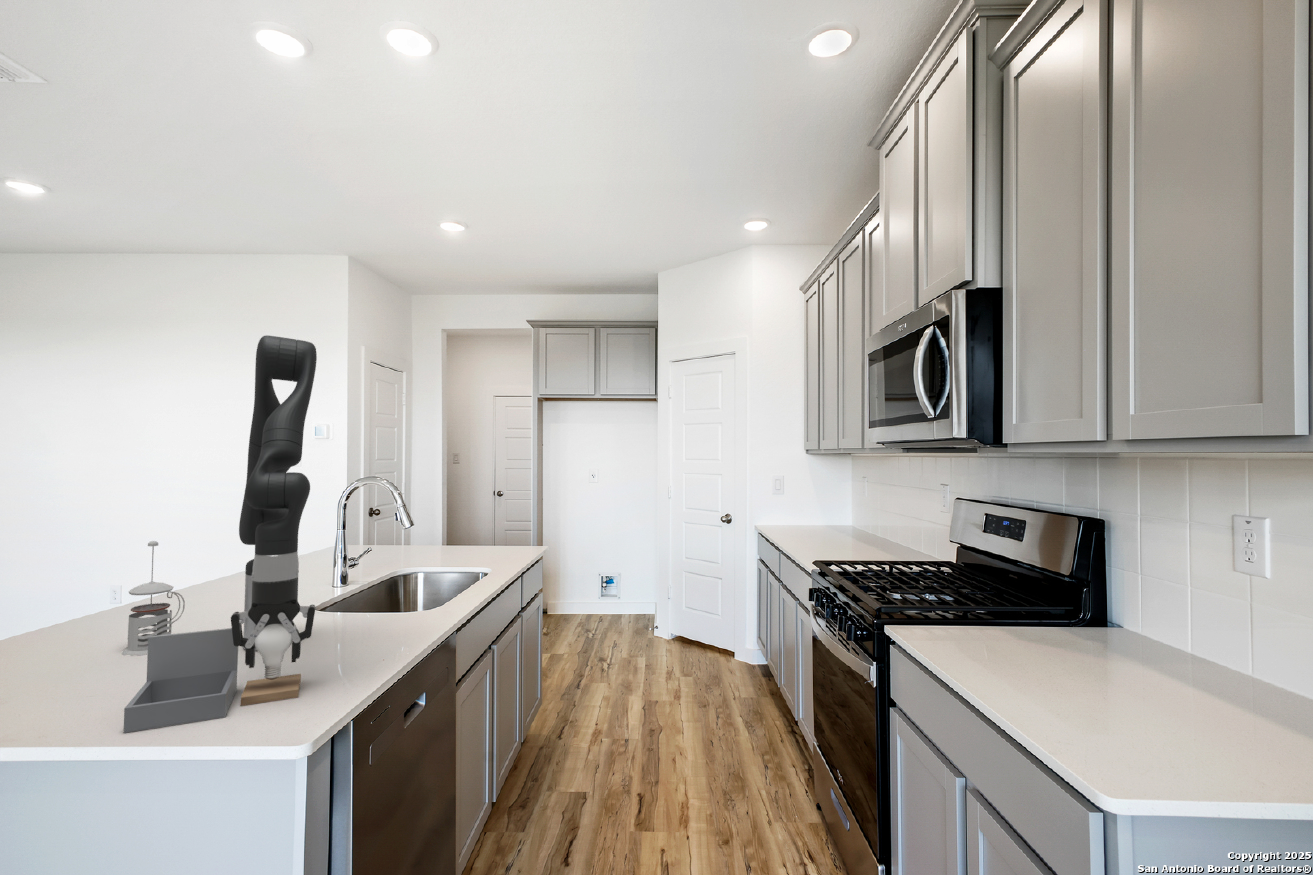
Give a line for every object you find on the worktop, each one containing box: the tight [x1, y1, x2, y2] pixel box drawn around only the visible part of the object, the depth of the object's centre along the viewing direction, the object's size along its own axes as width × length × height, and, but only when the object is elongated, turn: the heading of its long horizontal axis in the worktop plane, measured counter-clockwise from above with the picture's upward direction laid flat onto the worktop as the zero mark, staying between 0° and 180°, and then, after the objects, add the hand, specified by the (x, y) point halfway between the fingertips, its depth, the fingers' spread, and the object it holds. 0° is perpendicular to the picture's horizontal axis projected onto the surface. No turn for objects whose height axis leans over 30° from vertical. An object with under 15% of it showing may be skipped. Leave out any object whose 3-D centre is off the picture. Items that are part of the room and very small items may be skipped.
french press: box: [121, 540, 186, 656], centre depth 141 cm, size 10×12×25 cm
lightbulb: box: [254, 624, 293, 680], centre depth 115 cm, size 6×6×11 cm
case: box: [122, 627, 239, 734], centre depth 107 cm, size 14×14×12 cm
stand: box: [239, 673, 302, 707], centre depth 115 cm, size 9×9×2 cm
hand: (273, 663), depth 115 cm, fingers open, 6 cm apart
